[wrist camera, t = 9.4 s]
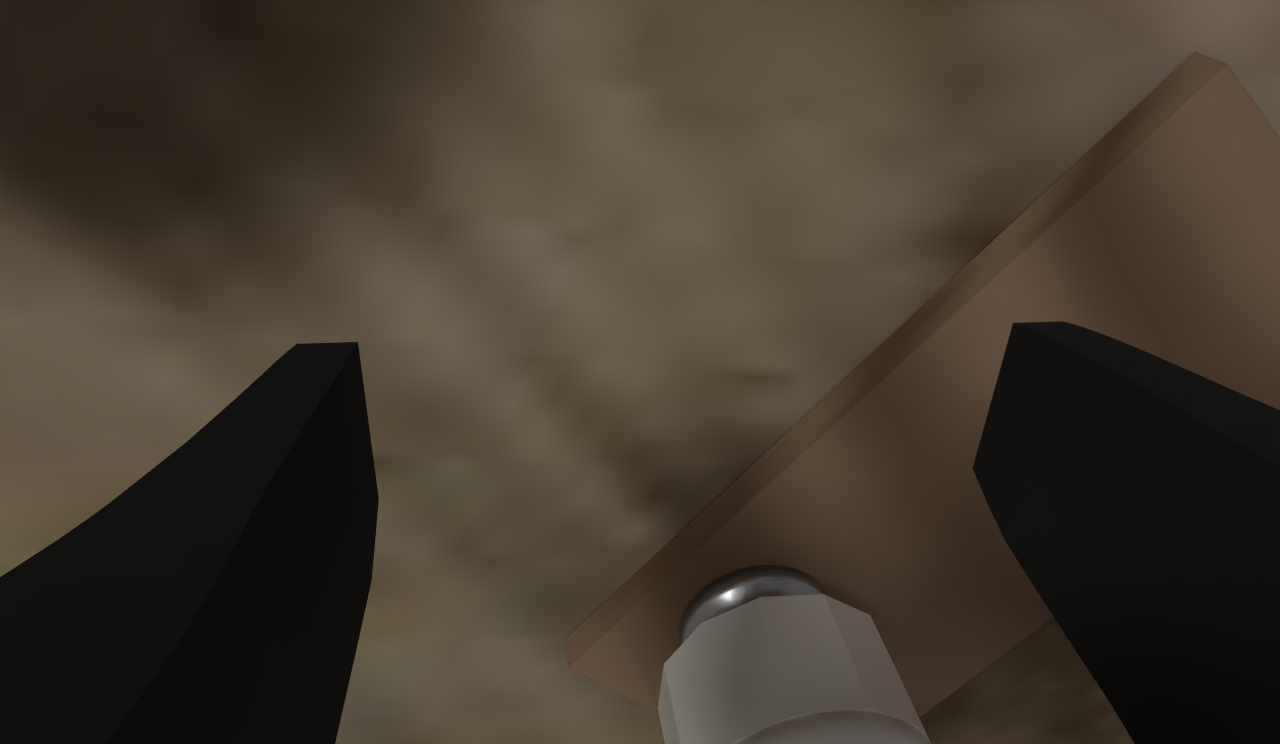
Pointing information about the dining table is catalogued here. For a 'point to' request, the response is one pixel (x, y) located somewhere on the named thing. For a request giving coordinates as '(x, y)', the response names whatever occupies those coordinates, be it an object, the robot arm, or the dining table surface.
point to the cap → (786, 679)
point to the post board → (981, 403)
